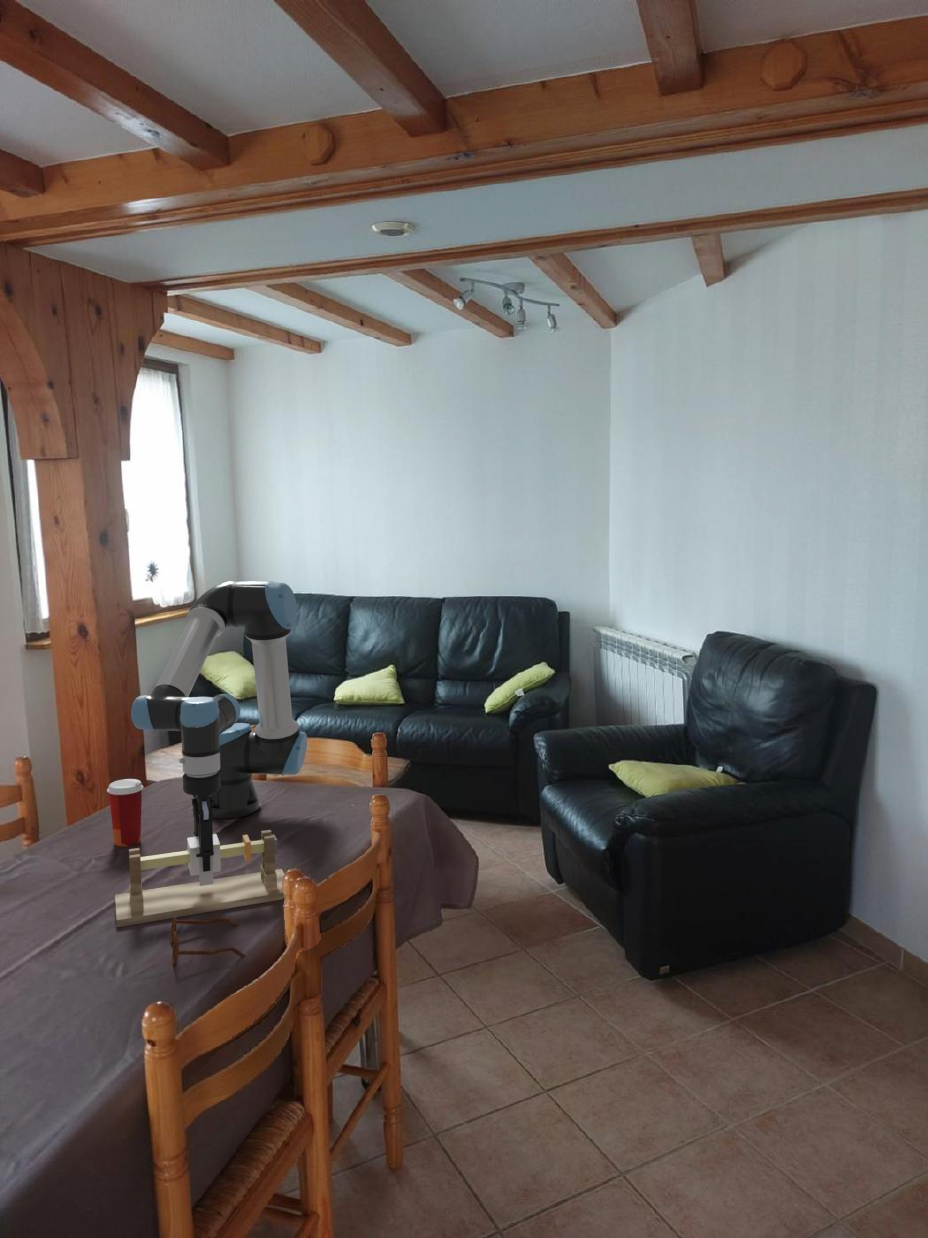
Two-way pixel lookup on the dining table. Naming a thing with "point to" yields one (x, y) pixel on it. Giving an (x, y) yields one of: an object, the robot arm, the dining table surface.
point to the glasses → (176, 945)
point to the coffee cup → (126, 811)
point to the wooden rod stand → (198, 891)
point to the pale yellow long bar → (225, 851)
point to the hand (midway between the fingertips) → (204, 877)
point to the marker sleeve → (194, 849)
